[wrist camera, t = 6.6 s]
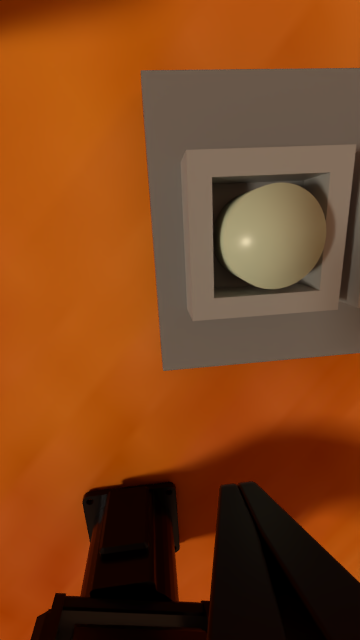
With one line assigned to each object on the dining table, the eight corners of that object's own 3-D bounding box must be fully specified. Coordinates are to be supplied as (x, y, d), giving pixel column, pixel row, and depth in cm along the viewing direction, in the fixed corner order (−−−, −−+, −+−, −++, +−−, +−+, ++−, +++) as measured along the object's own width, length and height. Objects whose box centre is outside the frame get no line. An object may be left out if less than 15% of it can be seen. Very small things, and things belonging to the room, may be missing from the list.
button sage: (292, 276, 16) (321, 285, 13) (213, 281, 15) (227, 292, 13) (297, 189, 14) (331, 180, 12) (211, 193, 14) (226, 184, 11)
